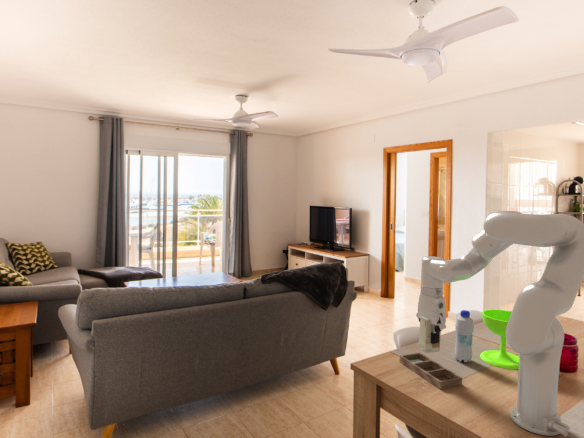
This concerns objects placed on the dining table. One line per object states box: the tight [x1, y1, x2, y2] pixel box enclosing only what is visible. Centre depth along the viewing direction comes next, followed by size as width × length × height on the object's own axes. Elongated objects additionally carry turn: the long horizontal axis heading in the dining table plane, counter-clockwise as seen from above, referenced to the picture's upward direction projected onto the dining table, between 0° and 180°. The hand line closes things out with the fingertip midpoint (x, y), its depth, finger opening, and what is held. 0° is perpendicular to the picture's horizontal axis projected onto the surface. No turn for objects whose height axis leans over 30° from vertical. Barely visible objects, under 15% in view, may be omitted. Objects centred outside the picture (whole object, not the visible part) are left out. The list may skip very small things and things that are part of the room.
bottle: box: [454, 309, 475, 364], centre depth 148 cm, size 7×7×20 cm
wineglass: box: [479, 308, 520, 371], centre depth 149 cm, size 16×16×18 cm
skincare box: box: [418, 316, 442, 354], centre depth 137 cm, size 6×4×12 cm
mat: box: [409, 359, 422, 363], centre depth 145 cm, size 6×7×1 cm
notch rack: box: [399, 351, 463, 390], centre depth 138 cm, size 22×9×2 cm, turn 20°
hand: (429, 339), depth 137 cm, fingers closed on skincare box, 4 cm apart
